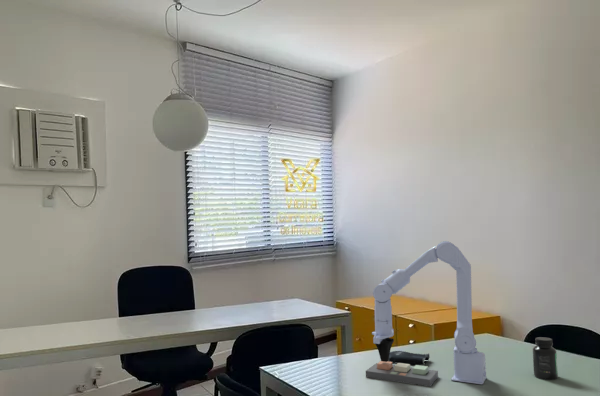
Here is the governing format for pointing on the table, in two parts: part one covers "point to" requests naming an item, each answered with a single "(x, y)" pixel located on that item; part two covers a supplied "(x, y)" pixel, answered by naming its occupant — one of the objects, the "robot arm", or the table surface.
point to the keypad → (402, 376)
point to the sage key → (420, 370)
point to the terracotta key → (384, 365)
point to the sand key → (402, 367)
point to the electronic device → (408, 358)
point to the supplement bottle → (545, 359)
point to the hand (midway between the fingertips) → (384, 361)
